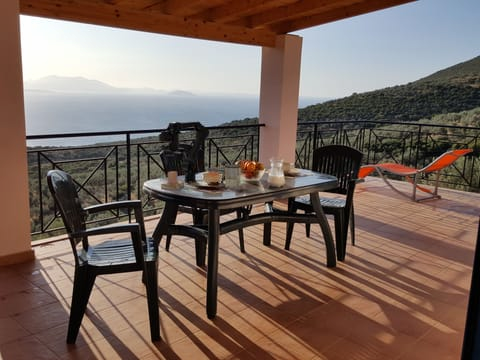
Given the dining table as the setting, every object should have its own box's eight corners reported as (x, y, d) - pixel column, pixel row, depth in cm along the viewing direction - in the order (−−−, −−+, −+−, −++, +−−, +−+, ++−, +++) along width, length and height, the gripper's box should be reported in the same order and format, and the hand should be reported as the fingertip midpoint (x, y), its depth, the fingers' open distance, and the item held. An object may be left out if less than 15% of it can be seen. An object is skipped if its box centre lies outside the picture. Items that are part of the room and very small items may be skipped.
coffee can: (223, 184, 294) (224, 164, 291) (239, 184, 296) (239, 163, 293) (226, 188, 284) (226, 166, 281) (241, 187, 286) (242, 166, 283)
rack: (170, 184, 291) (170, 180, 290) (184, 186, 287) (184, 181, 286) (161, 188, 280) (161, 183, 279) (174, 189, 276) (174, 185, 275)
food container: (228, 182, 303) (228, 168, 301) (224, 183, 297) (224, 169, 295) (211, 180, 307) (211, 166, 305) (207, 182, 301) (208, 168, 299)
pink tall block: (172, 186, 286) (171, 171, 284) (177, 187, 285) (177, 171, 283) (168, 187, 282) (167, 172, 280) (173, 188, 280) (173, 173, 278)
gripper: (171, 139, 301) (171, 161, 304) (156, 141, 284) (156, 165, 287) (185, 140, 297) (185, 163, 299) (171, 142, 280) (171, 166, 283)
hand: (174, 164), depth 292 cm, fingers open, 9 cm apart
